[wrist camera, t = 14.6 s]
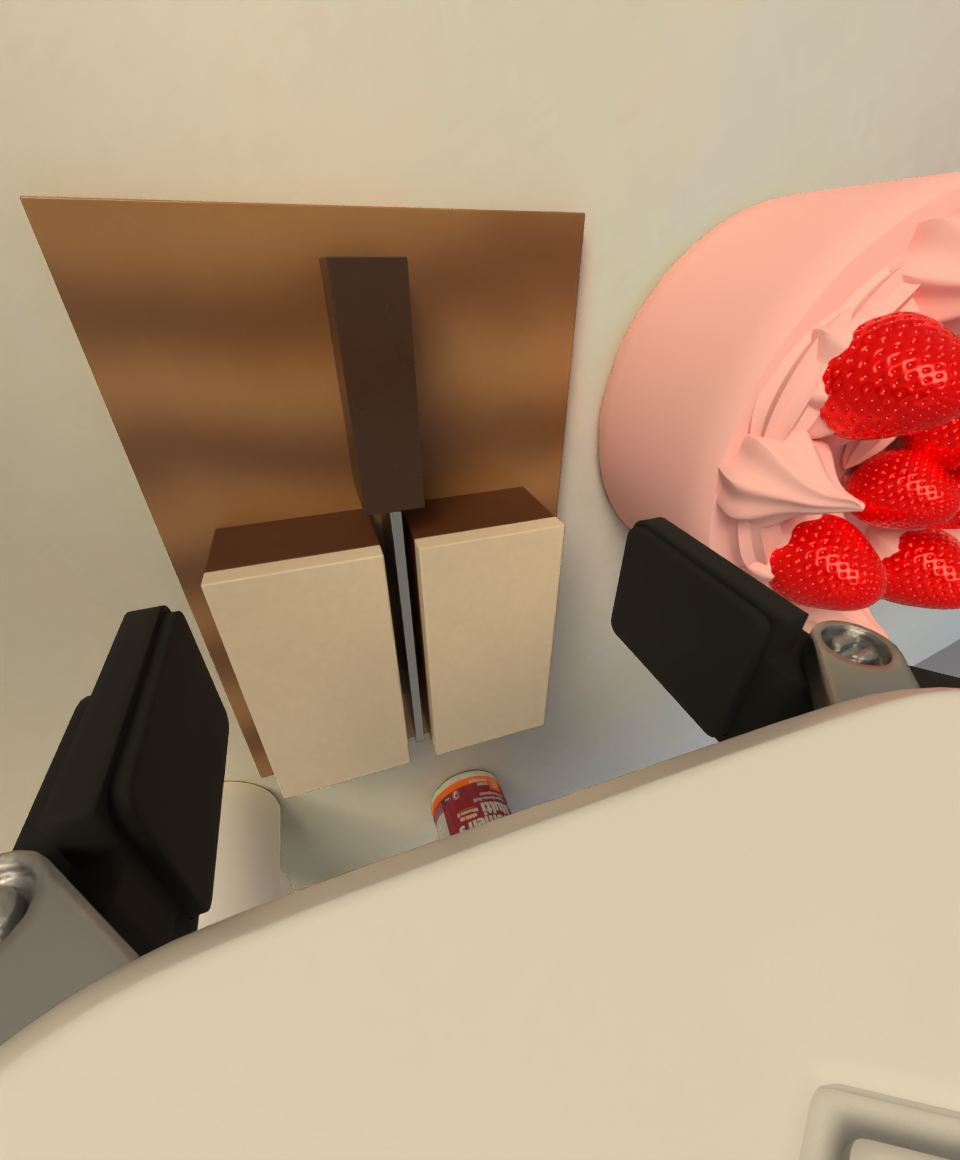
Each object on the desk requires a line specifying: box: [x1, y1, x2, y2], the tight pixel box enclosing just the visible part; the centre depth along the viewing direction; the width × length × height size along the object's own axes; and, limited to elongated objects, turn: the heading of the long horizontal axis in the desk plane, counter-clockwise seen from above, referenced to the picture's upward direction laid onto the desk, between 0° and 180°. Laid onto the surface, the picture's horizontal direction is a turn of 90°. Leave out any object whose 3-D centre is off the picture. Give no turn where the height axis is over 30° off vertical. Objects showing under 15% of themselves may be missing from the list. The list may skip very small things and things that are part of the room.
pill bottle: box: [431, 771, 511, 840], centre depth 37 cm, size 6×6×11 cm
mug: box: [198, 782, 295, 930], centre depth 30 cm, size 8×12×12 cm
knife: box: [319, 256, 425, 742], centre depth 24 cm, size 24×3×4 cm, turn 0°
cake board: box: [20, 196, 585, 778], centre depth 26 cm, size 30×20×1 cm, turn 0°
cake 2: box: [401, 487, 565, 755], centre depth 27 cm, size 14×7×5 cm, turn 0°
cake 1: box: [201, 509, 410, 799], centre depth 25 cm, size 14×7×5 cm, turn 0°
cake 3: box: [599, 171, 960, 640], centre depth 24 cm, size 20×20×14 cm
